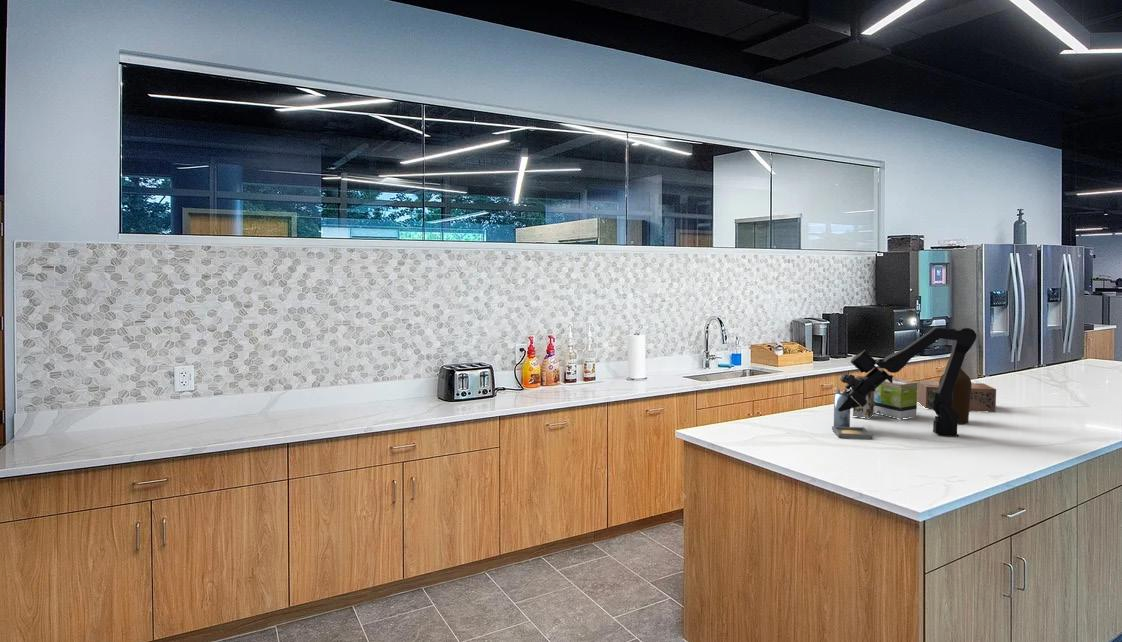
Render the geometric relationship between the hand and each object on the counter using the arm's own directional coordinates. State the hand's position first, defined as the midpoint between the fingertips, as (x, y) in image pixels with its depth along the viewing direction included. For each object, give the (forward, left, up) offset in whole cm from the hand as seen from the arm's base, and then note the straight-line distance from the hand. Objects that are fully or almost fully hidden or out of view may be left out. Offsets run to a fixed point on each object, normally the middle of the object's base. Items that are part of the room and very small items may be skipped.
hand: (838, 409), depth 233 cm
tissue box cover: (-57, -46, -8) cm, 74 cm away
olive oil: (-46, -17, -7) cm, 50 cm away
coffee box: (-14, -21, -7) cm, 27 cm away
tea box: (-26, -25, -7) cm, 37 cm away
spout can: (-1, 0, -7) cm, 7 cm away
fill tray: (-2, +11, -7) cm, 13 cm away
